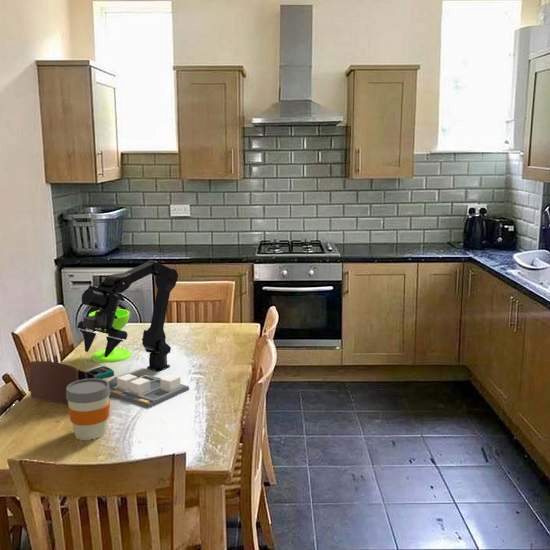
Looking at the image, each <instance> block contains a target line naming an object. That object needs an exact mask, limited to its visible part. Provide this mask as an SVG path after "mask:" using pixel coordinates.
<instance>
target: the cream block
mask: <svg viewBox="0 0 550 550" xmlns="http://www.w3.org/2000/svg"><path fill="white" fill-rule="evenodd" d="M138 378H139V377H138ZM149 391H151V387H150V380H147V379H144V378H139V379H136V380H134V381H131V382H130V392H133V393H136V394H139V395H142V394H144V393H147V392H149Z"/></svg>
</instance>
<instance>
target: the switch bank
mask: <svg viewBox="0 0 550 550" xmlns="http://www.w3.org/2000/svg"><path fill="white" fill-rule="evenodd" d="M139 378H144V379H147V380H150V387H151V391H149V392H147V393H144V394H142V395H139V394H136V393H133V392H130V390H128V391H127V390H123V389H120V388H118V387H117V385H116V386H114V387H113V388H112V389H110V395H109V396H113V397H116V398H119V399H121V400H124V401H127V402H131V403H134V404H137V405H139V406H143V407H145V406H146V408H149V407H150V408H152V406H153V407H155V406H157V405H159V404H161V403H163V402H166V401H167V400H170V399H172V398H174V397H177V396H178V394H179V395H181V394H182V392H183V393H185V392H188V391H189V390H190V386H189V385H186V384H185V385H184V384H182V383H180V385H181V387H180V388H178V389H175V390H173V391H171V392H167V391H163V390H161V380H160V379H161V378H162V377H158V376H154V375H150V374H148V375H147V374H144V375H141V376H139V377H137V379H139ZM180 393H181V394H180ZM171 397H172V398H171ZM169 398H170V399H169ZM165 400H166V401H165Z"/></svg>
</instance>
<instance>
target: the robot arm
mask: <svg viewBox="0 0 550 550" xmlns="http://www.w3.org/2000/svg"><path fill="white" fill-rule="evenodd" d="M149 275H152V276H154V278H155V279H154V283H155V285H156V289H157V290H156V295H155V300H154V305H153V310H152V311H153V312H152V316H151V321H150V326H149V327H148V329H144V330H143V333H142V338H141V341H142V346H143V347H144V350H145V352H146V353H149V357H148V362H149V363H148V364H149V365H148V366H147V367H146V368H147V369H148V370H149V369H150V370H153V371H156V372H160V371H163V370H166V369H168V368H170V367H171V365H170V364H168V355H169V354H170V353H171V350H172V347H171V346H170V345H169V344H168V343H166V337H167V335H166V333H165V330H164V328H165V322H166V321H165V320H166V316H167V311H168V306H169V299H170V295H171V292H172V291H173V289H174V288H175V287H176V284H177V281H178V278H179V273H178V271H177V269H176V268H170V267H168V266H167V265H164V264H162V263H161V262H159V261H156V260H150V259H149V260H146V262H144V263H142V264H140V265H137V266H136V267H135V266H134V267H133V268H131V269H129V270H127V271H124V272H120V273H114V274H113V273H112V274H110V275H107V276H106V277H104V280H103V281H102V282H101V283H100V284H99V285H98V286H97V287H96V286H94V285H89V286H88V288H86V289H85V291H83V293H82V294H81V303H82V304H83V305H85V306H88V307H92V308H95V309H96V308H97V309H98V310H99V311H98V310H95V311H96V312H95V315H94V316H89V315H88V316H84V317H83V318H82V320H80V321H79V322H78V324H77V327H76V328H77V329H79V332H80V333H81V334H82V337H83V341H84V342H83V343H84V351H85V352H86V353H88V352H89V350H90V349H91V347H92V345H93V342H94V340H95V337H96V336H97V333H96V332H99V333H102V334H106V335H107V336H105V337H106V346H105V349H106V350H105V355H104V357H108V355H109V354H110V353H111V352H112V351H113V349H114V348H117V347H118V345H119V344H120V343H121V342H122V343H123V342H124V340H125V341H126V340H127V338H128V332H127V331H125V330H123V329H121V330H118V329H114V327H112V325H113V322H114V318H115V319H117V316H115V314H116V313H115V312H116V311H117V309H118V307H119V302H125V298H124V297H123V294H122V293H124V292H125V291H127V290H128V289H129V288H130V287H131V285H132V284H134V283H135V282H137V281H140V280H141V279H143V278H145V277H148V276H149ZM99 328H101V329H99ZM105 329H106V330H105ZM108 336H110V337H108Z"/></svg>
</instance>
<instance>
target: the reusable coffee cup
mask: <svg viewBox="0 0 550 550" xmlns="http://www.w3.org/2000/svg"><path fill="white" fill-rule="evenodd" d="M108 382H109V380H108V381H107V379H95V378H92V379H83V380H78V381H75V382H73V383H71V384H69V385H68V386H67V388H66V399H67V400H68V404H67V411H68V414H69V415H68V416H69V419H70V420H69V421H70V422H71V423H72V426H73V427H72V428H73V431H74V436H75V438H76V439H78V440H82V441H92V440H91V439H93V440H96V438H97V439H100V438H102V437H104V436H105V435H106V434H105V433H107V429H108V428H107V427H108V418H109V416H110V409H111V408H110V405H111V401H110V396H111V395H110V390H111V389H110V388H109V383H108ZM104 434H105V435H104ZM103 435H104V436H103ZM101 436H102V437H101ZM99 437H100V438H99Z"/></svg>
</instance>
